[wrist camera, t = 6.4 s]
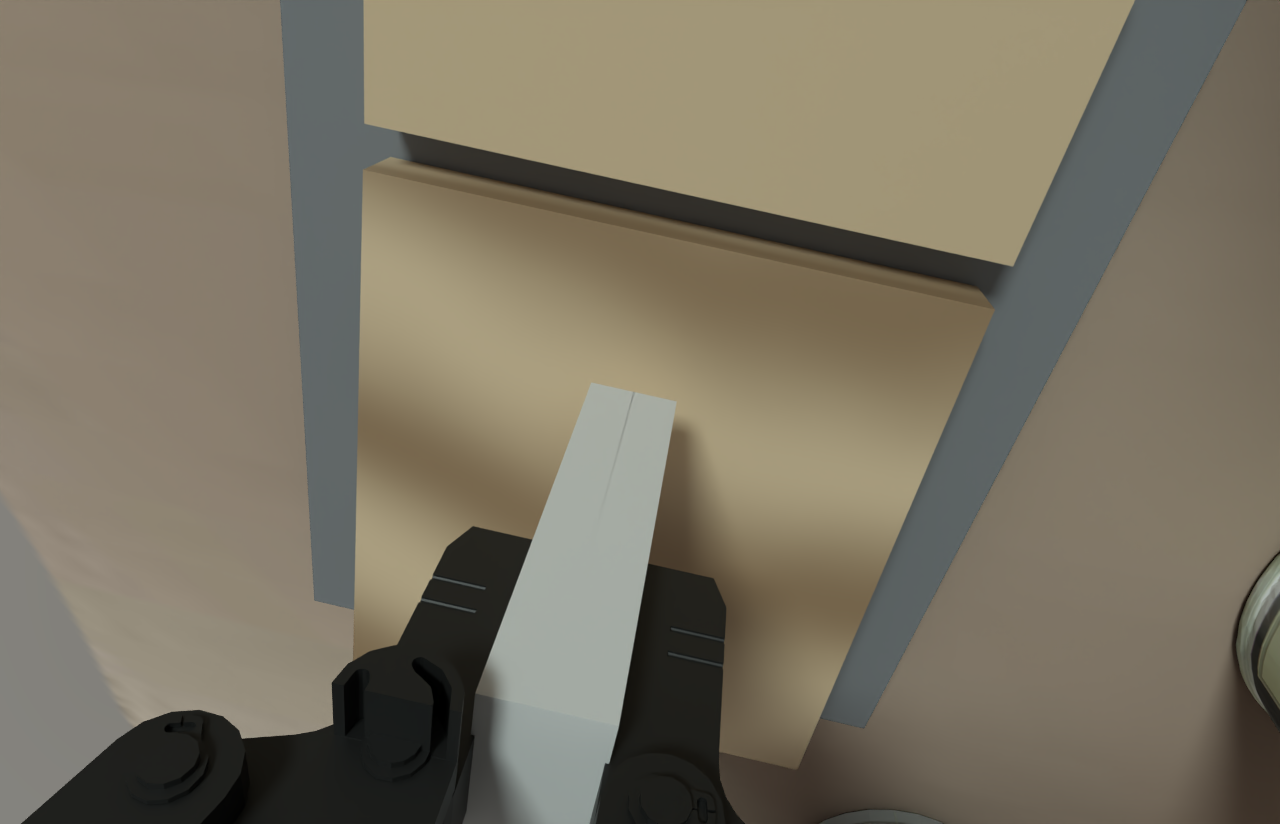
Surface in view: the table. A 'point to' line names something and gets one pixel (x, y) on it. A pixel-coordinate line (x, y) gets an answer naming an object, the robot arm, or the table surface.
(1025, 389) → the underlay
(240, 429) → the table surface
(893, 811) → the coffee cup
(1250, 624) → the coffee can
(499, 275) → the plank
